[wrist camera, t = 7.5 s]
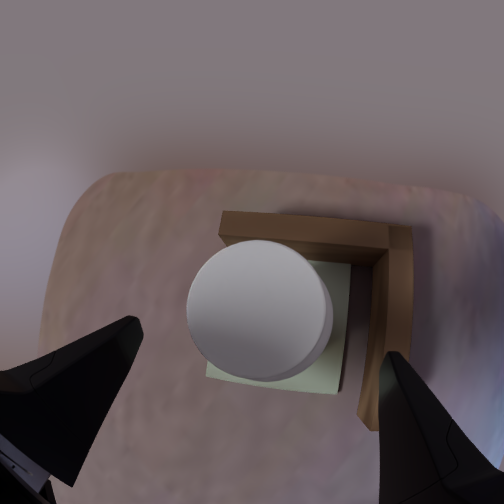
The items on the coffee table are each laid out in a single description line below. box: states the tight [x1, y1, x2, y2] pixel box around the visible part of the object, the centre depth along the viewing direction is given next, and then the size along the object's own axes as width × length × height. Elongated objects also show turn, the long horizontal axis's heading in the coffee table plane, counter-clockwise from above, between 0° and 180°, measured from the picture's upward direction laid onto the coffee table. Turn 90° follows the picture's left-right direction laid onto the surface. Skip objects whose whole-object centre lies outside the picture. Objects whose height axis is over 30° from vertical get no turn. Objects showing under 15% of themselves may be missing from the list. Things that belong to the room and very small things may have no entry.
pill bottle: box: [187, 240, 333, 382], centre depth 13 cm, size 6×6×10 cm
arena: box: [206, 211, 414, 431], centre depth 16 cm, size 12×12×4 cm
